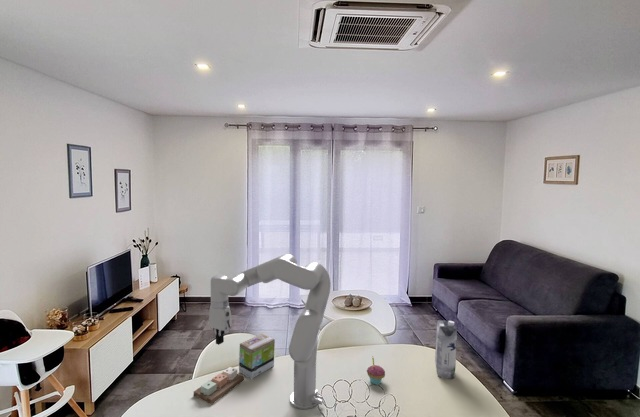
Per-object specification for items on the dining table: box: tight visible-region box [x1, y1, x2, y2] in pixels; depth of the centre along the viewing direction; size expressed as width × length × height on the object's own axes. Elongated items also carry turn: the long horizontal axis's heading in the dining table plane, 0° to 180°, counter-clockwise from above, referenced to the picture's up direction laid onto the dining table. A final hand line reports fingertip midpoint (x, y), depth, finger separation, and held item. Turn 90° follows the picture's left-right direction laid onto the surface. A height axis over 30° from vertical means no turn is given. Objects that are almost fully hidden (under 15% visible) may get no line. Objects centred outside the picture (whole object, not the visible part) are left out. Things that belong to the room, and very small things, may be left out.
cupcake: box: [366, 355, 386, 385], centre depth 158 cm, size 9×8×12 cm
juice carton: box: [434, 319, 458, 380], centre depth 165 cm, size 9×10×27 cm
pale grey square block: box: [200, 380, 218, 396], centre depth 145 cm, size 5×5×3 cm
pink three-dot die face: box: [211, 373, 228, 388], centre depth 151 cm, size 5×5×3 cm
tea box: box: [238, 333, 276, 380], centre depth 166 cm, size 15×10×15 cm
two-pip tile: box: [222, 366, 238, 381], centre depth 157 cm, size 5×5×3 cm
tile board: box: [193, 372, 245, 405], centre depth 151 cm, size 11×20×2 cm, turn 151°
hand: (219, 343), depth 150 cm, fingers closed
